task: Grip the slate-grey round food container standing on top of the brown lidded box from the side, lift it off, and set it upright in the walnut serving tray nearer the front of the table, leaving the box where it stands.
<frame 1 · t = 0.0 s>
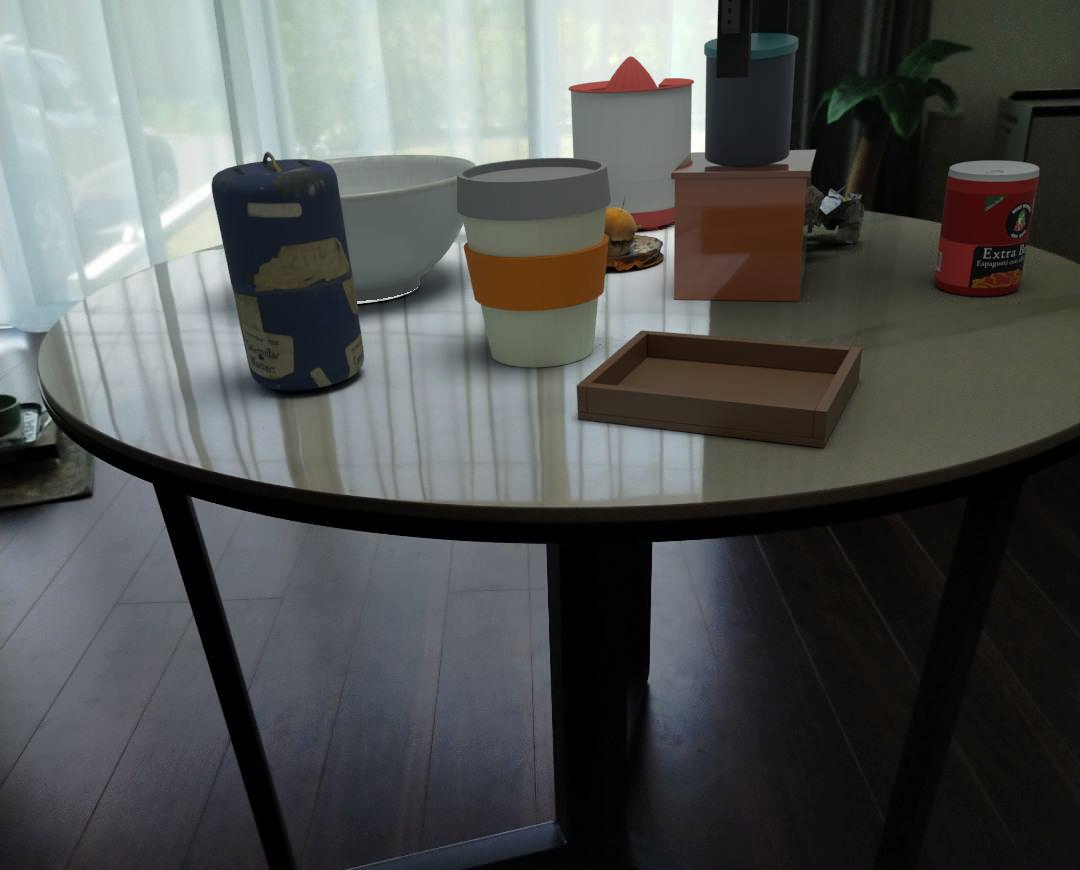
hand: (753, 70, 89), 20 cm above the table, tool pointing down, fingers open, 13 cm apart
tray: (721, 399, 74), on the table
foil: (804, 252, 113), on the table
canned food: (975, 288, 96), on the table
brown lidded box: (741, 284, 102), on the table, touching grey container
grey container: (746, 155, 96), point 12 cm above the table, tilted 7°, touching brown lidded box, gripper
canister: (310, 381, 84), on the table
reusable coffee cup: (542, 352, 87), on the table
citrus juicer: (634, 223, 133), on the table
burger: (611, 262, 114), on the table
decorative bowl: (364, 292, 109), on the table
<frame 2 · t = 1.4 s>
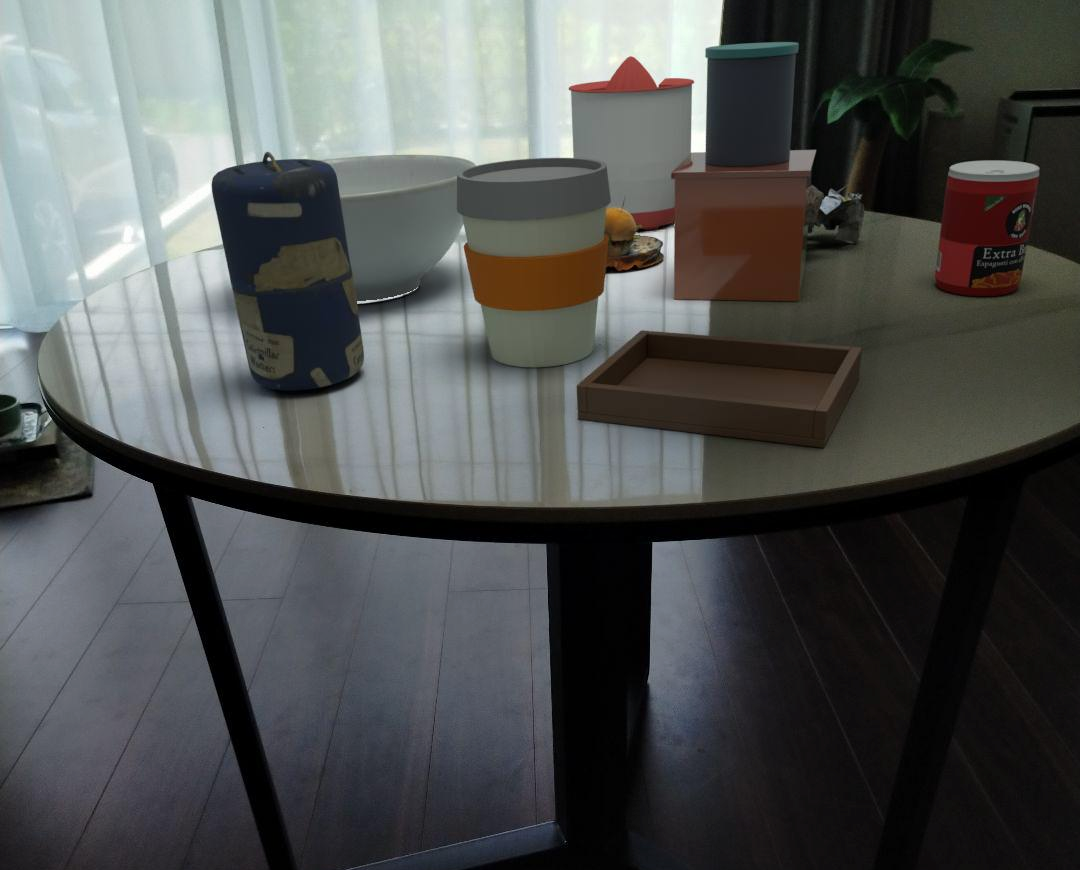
grey container: (747, 160, 96), point 12 cm above the table, touching brown lidded box
everything else where it was.
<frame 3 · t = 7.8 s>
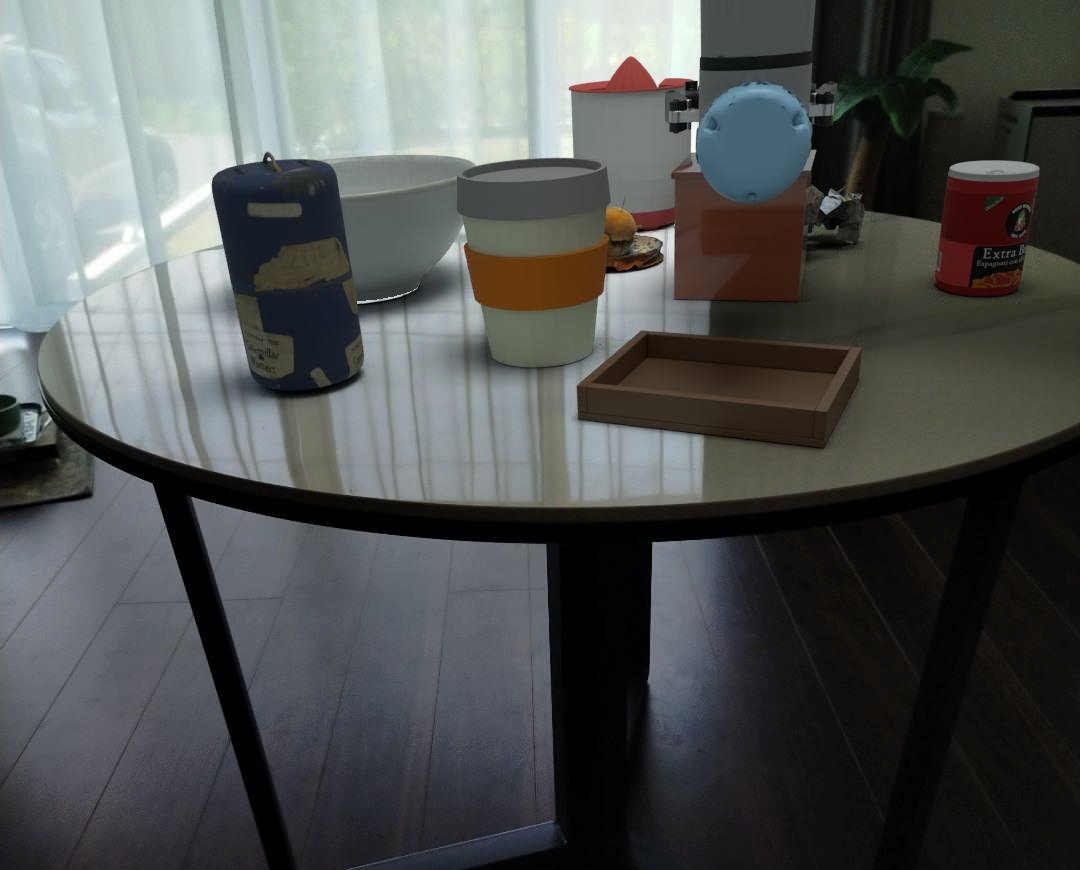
hand: (748, 94, 98), 17 cm above the table, tool horizontal, fingers closed on grey container, 8 cm apart
grey container: (746, 160, 96), point 12 cm above the table, touching brown lidded box, gripper
everything else where it was.
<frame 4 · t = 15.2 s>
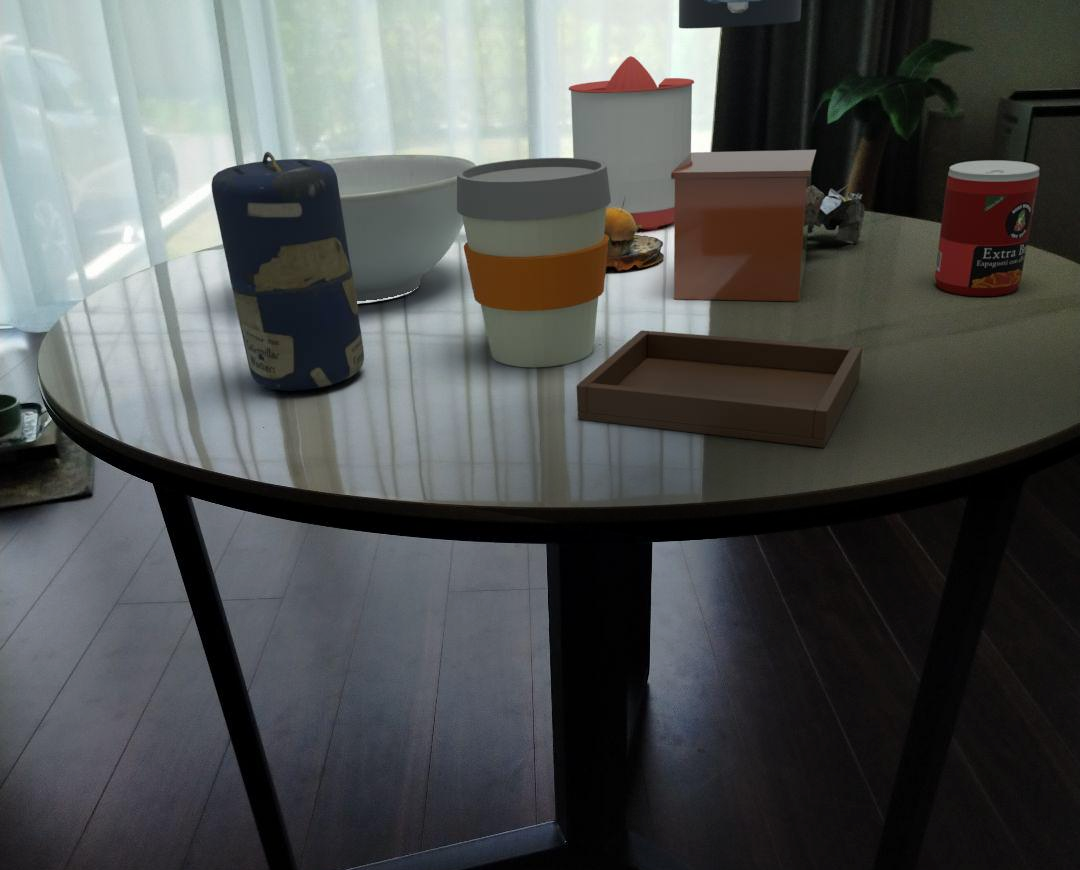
brown lidded box: (741, 284, 102), on the table
grey container: (738, 24, 67), point 25 cm above the table, touching gripper
everything else where it was.
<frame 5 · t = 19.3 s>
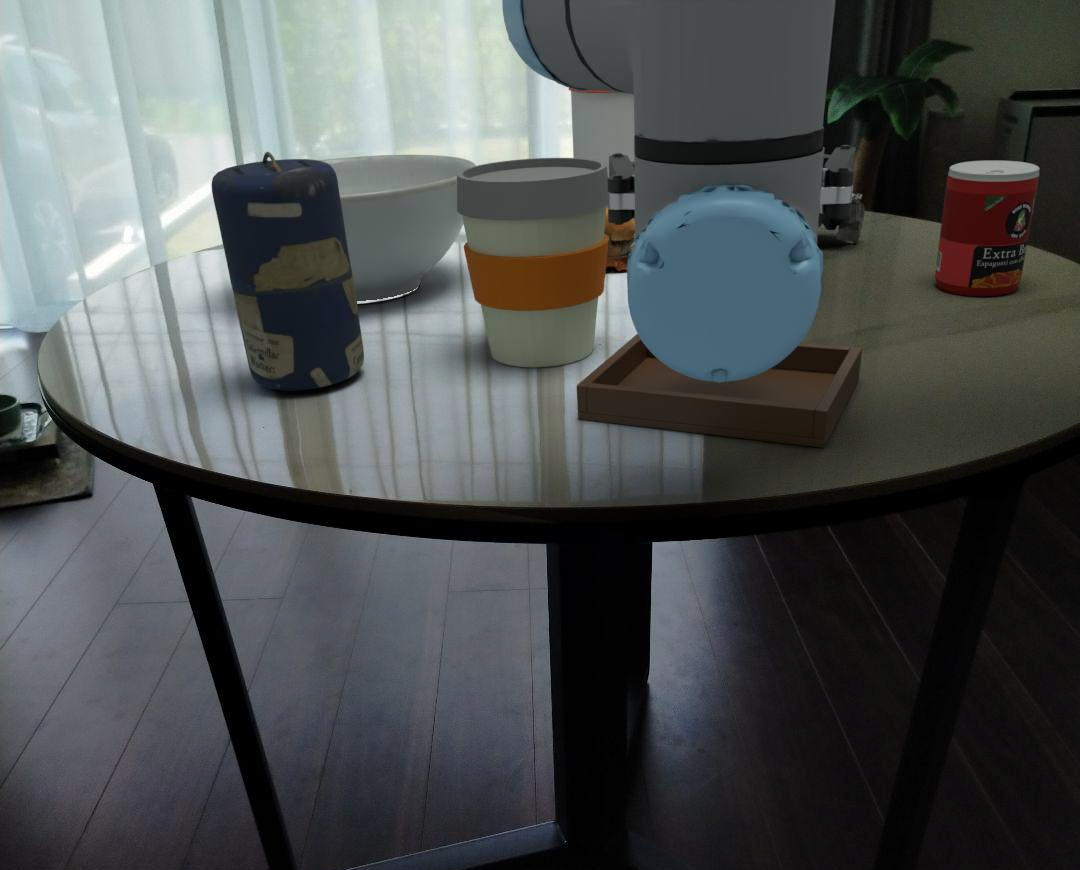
hand: (729, 154, 70), 17 cm above the table, tool horizontal, fingers closed on grey container, 8 cm apart
grey container: (726, 248, 69), point 11 cm above the table, touching gripper
everything else where it was.
when the fingers open (6 cm above the table, at t = 22.6 s): grey container stays where it is, resting on tray.
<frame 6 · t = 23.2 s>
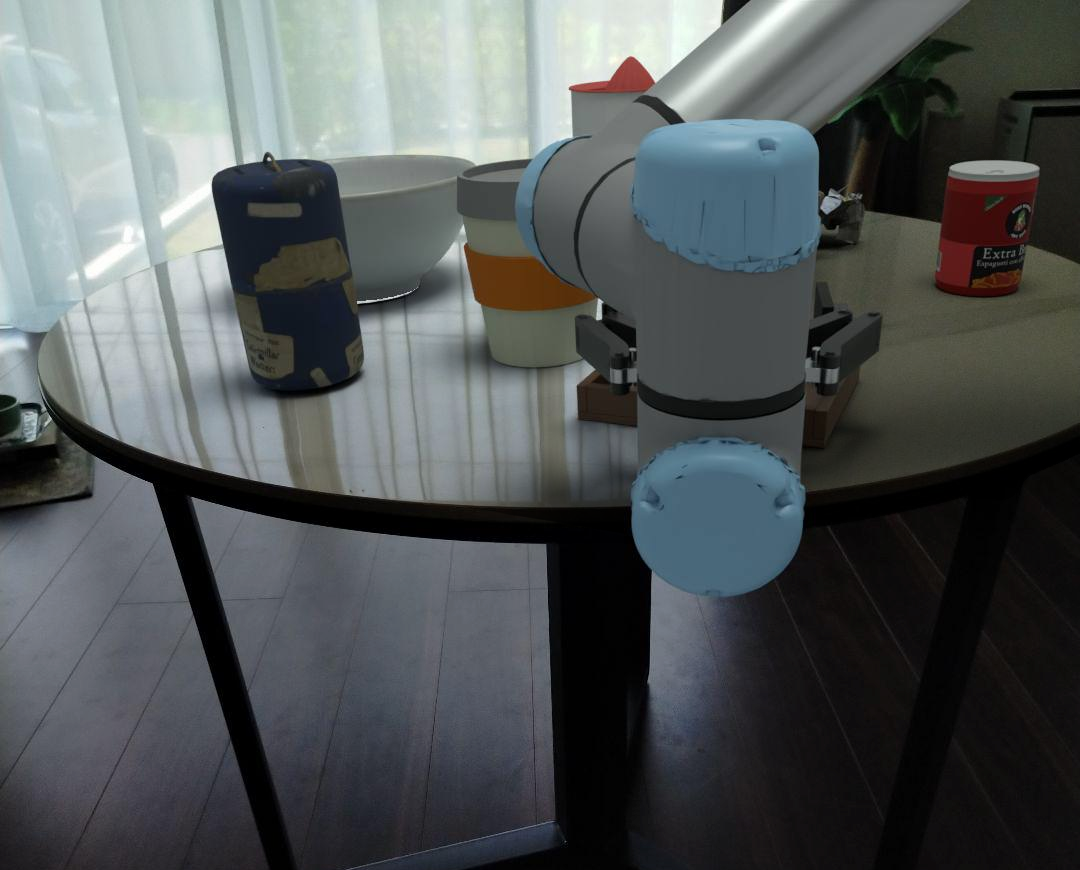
hand: (725, 301, 74), 6 cm above the table, tool horizontal, fingers open, 13 cm apart
grey container: (721, 391, 74), point 1 cm above the table, touching tray
everything else where it was.
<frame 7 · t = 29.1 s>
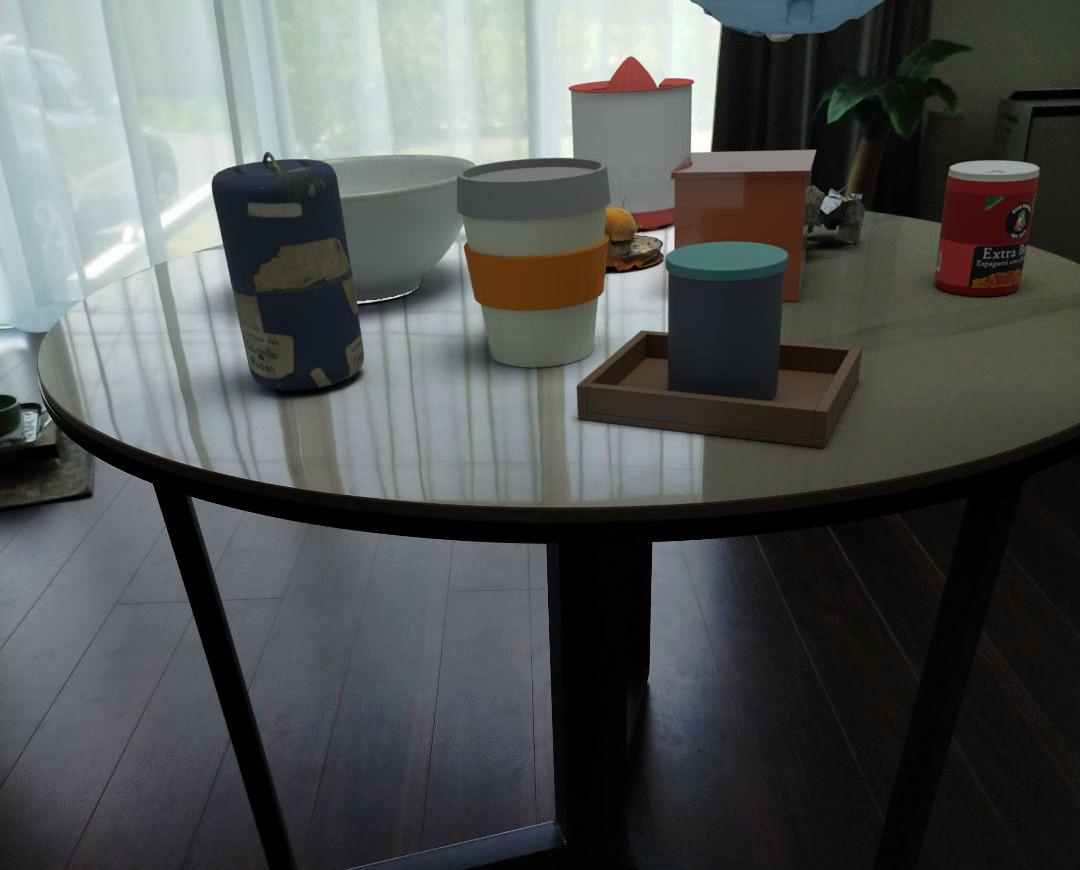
nothing on the table moved.
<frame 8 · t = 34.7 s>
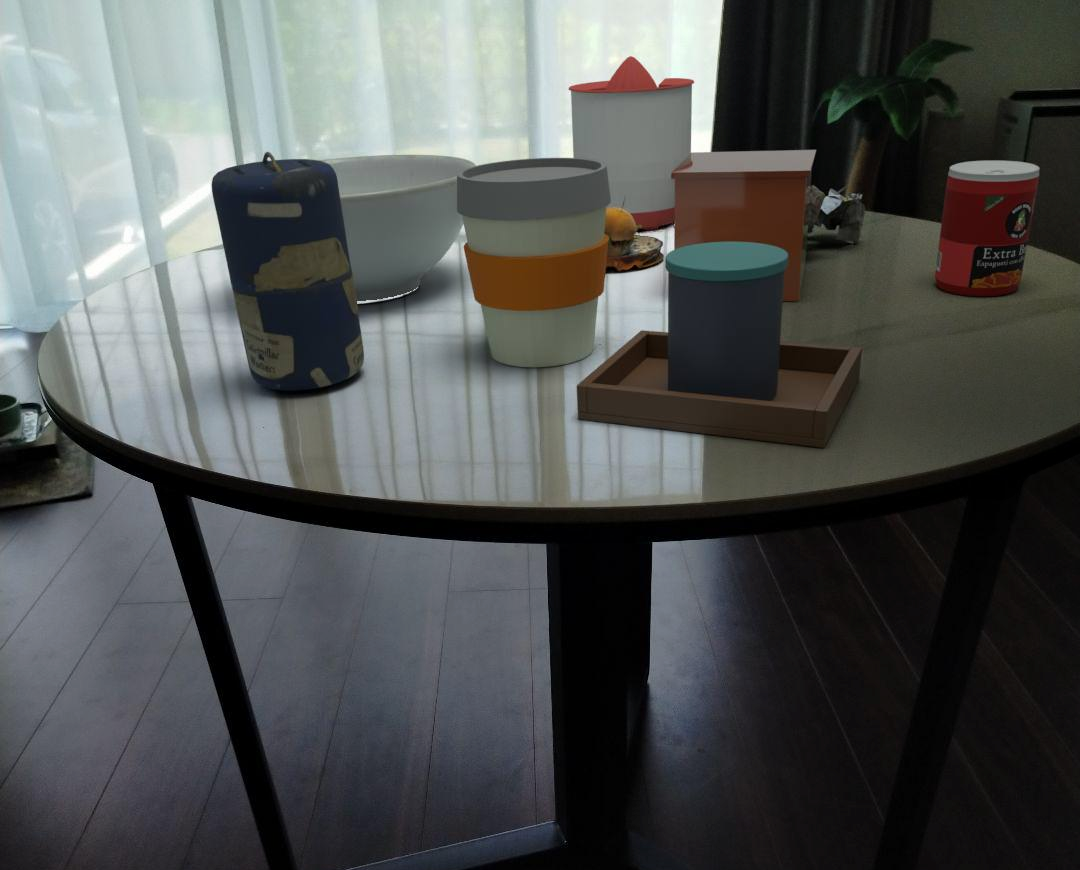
nothing on the table moved.
at the end: grey container inside the target area in the tray (0.1 cm from its centre), point 0.6 cm above the tray's base; grey container tilted 0°; brown lidded box moved 0.0 cm from its start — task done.
